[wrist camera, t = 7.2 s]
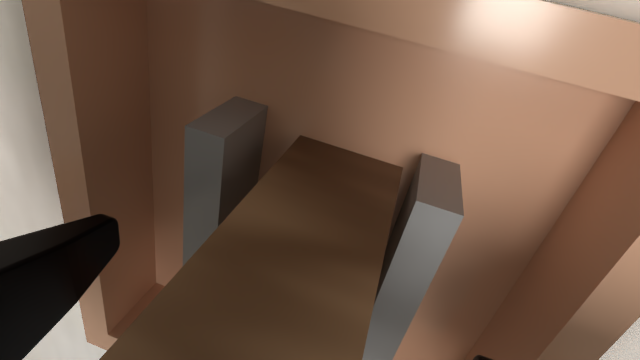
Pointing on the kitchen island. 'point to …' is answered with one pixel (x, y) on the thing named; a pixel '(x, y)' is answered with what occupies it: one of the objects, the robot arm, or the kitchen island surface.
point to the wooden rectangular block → (280, 268)
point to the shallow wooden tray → (365, 152)
